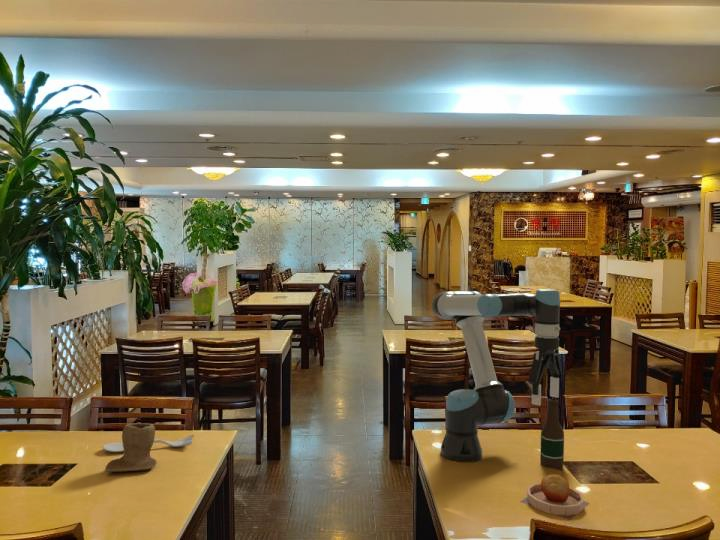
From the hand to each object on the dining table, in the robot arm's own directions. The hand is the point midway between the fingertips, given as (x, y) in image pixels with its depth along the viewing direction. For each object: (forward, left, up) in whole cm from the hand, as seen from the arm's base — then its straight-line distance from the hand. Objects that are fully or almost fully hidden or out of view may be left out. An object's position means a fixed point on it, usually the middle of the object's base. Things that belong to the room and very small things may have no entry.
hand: (545, 400), depth 171 cm
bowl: (+10, -15, -26) cm, 31 cm away
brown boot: (-104, -92, -27) cm, 141 cm away
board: (+10, -15, -27) cm, 32 cm away
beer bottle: (-3, +13, -27) cm, 30 cm away
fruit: (+10, -15, -25) cm, 31 cm away
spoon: (-118, -80, -27) cm, 145 cm away
